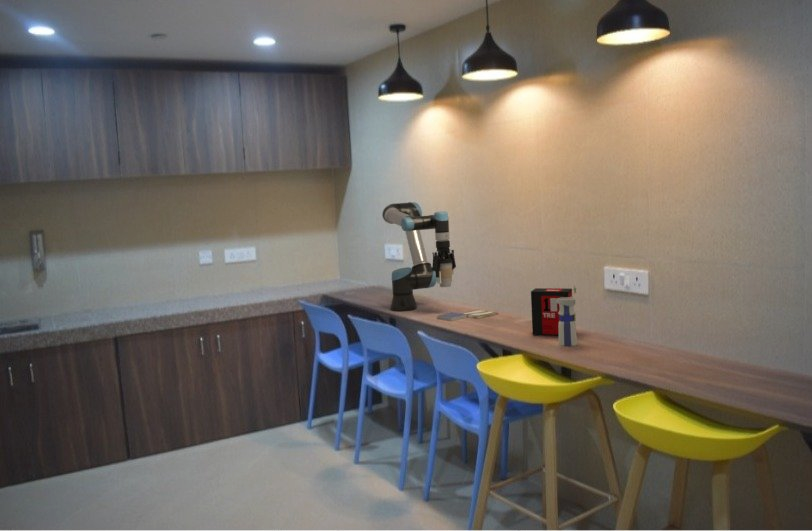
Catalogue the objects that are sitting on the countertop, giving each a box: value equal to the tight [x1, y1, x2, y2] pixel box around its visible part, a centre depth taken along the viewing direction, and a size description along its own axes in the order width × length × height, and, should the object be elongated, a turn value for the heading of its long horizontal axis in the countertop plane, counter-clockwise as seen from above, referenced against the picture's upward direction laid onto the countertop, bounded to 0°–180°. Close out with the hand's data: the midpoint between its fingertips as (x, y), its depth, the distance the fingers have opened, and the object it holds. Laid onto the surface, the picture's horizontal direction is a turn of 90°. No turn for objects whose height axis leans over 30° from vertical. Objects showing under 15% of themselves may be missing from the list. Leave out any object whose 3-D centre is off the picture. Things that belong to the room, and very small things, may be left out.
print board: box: [460, 309, 499, 320], centre depth 366 cm, size 15×15×1 cm
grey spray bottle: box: [557, 285, 578, 347], centre depth 290 cm, size 8×8×25 cm
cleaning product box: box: [530, 287, 573, 337], centre depth 311 cm, size 16×9×20 cm, turn 66°
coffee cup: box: [437, 258, 453, 288], centre depth 373 cm, size 9×9×15 cm
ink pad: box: [436, 312, 468, 322], centre depth 363 cm, size 11×11×2 cm
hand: (445, 282), depth 374 cm, fingers closed on coffee cup, 8 cm apart
